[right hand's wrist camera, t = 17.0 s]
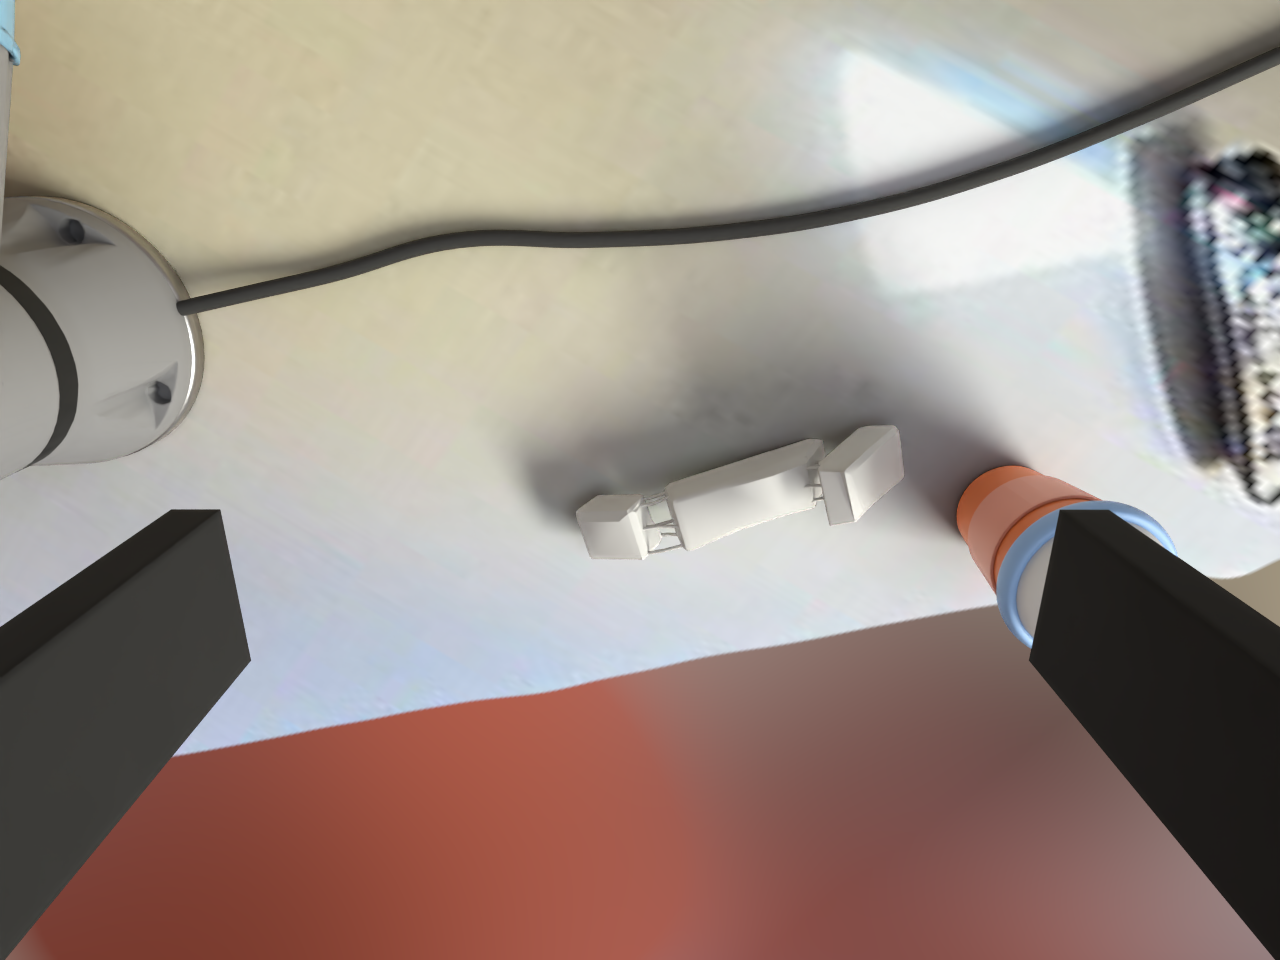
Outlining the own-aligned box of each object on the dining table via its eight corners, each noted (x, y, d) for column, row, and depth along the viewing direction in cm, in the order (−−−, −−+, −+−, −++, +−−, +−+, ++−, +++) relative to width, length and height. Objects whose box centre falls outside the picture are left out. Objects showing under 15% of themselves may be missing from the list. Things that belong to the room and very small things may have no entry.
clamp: (891, 414, 48) (917, 451, 41) (901, 470, 49) (928, 514, 43) (582, 487, 52) (563, 531, 45) (599, 537, 53) (582, 587, 46)
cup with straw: (908, 489, 50) (1044, 643, 33) (1041, 415, 48) (1257, 537, 31) (968, 595, 53) (1122, 787, 36) (1096, 528, 51) (1322, 697, 34)
